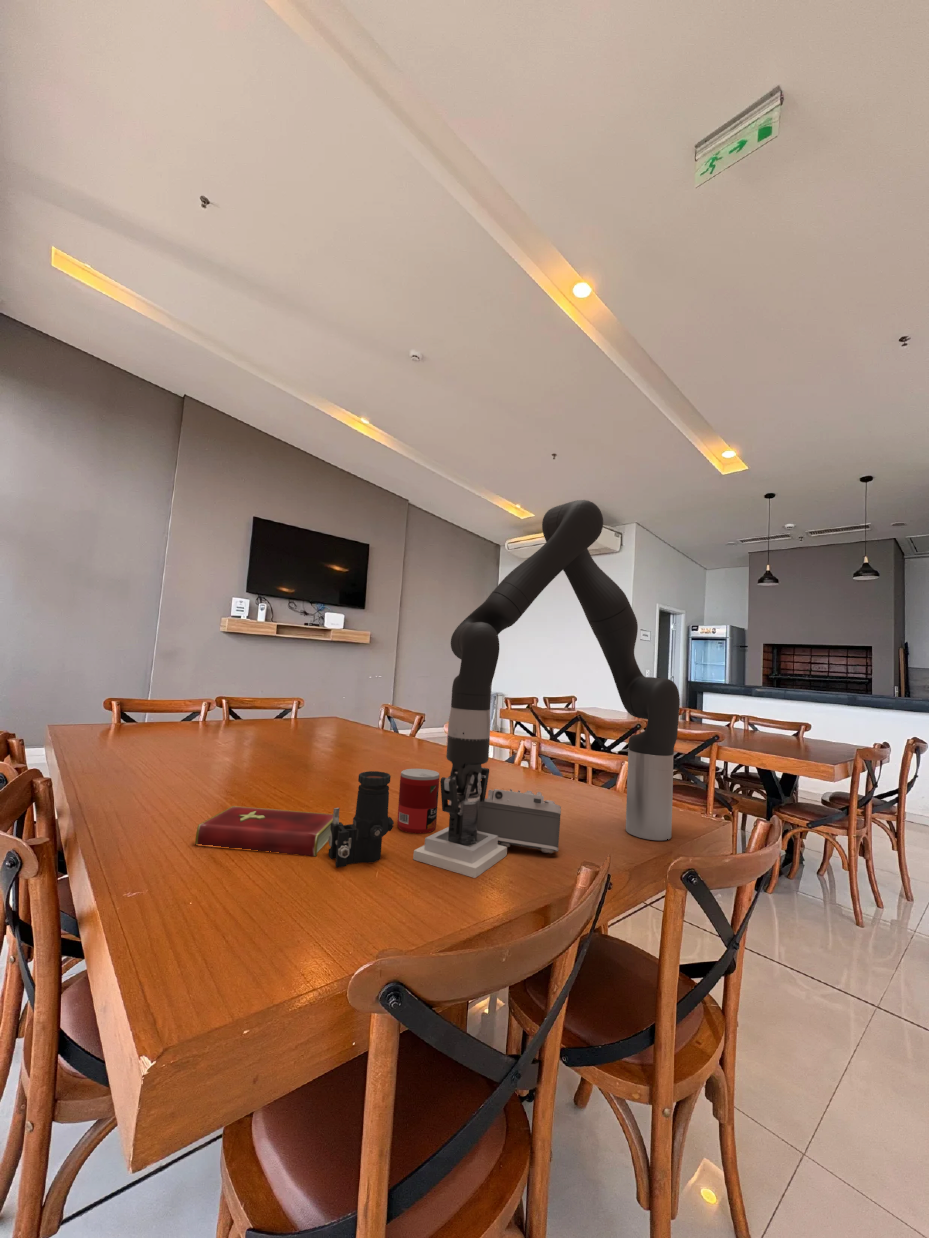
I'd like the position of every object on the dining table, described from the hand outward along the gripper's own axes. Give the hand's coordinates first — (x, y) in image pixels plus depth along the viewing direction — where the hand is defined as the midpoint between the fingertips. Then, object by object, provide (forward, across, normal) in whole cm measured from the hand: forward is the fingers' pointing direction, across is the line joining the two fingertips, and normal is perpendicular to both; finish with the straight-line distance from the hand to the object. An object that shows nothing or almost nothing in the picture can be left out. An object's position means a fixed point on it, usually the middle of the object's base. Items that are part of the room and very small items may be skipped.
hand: (462, 831), depth 89 cm
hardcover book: (+5, -14, +32) cm, 35 cm away
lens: (+1, 0, 0) cm, 1 cm away
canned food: (+5, +8, +15) cm, 18 cm away
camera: (+5, +12, -5) cm, 14 cm away
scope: (+5, -11, +13) cm, 18 cm away
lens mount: (+4, 0, 0) cm, 4 cm away
